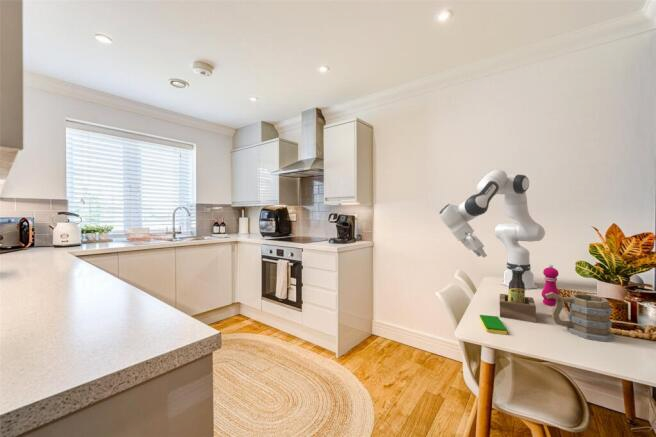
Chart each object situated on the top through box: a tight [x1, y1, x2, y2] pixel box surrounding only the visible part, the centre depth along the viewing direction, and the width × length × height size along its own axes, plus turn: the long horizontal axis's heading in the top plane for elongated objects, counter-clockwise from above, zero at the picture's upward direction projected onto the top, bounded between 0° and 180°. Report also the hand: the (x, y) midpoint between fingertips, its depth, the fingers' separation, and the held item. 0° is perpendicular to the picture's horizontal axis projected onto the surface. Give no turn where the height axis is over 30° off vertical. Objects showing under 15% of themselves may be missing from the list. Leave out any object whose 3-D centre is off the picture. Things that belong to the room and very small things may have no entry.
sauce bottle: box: [507, 269, 526, 304], centre depth 124 cm, size 7×6×20 cm
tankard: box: [545, 292, 615, 342], centre depth 107 cm, size 20×13×15 cm, turn 64°
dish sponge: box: [479, 314, 508, 335], centre depth 114 cm, size 7×14×2 cm, turn 161°
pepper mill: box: [541, 264, 561, 307], centre depth 136 cm, size 7×7×20 cm
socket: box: [499, 293, 537, 324], centre depth 125 cm, size 13×13×7 cm
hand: (482, 256), depth 133 cm, fingers open, 8 cm apart
